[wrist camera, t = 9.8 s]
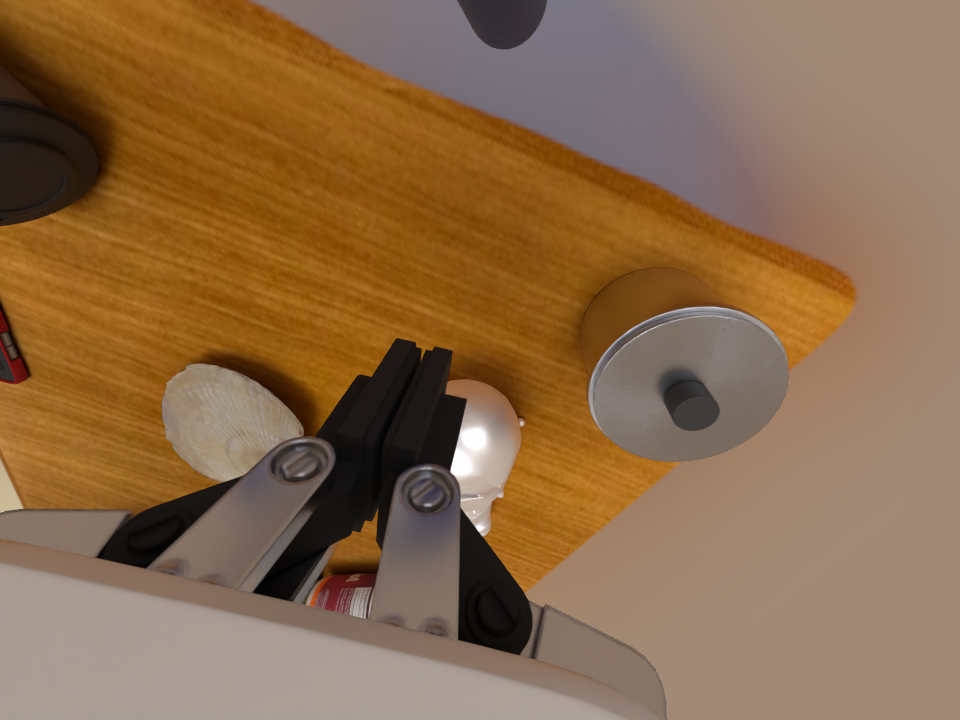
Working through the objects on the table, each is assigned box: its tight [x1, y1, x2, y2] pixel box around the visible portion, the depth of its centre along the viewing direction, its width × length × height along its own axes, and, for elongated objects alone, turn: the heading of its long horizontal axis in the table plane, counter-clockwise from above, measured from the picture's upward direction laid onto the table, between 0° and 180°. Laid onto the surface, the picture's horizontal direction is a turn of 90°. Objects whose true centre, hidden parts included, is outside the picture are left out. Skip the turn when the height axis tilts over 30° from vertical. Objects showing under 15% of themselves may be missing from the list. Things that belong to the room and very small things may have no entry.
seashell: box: [161, 363, 304, 482], centre depth 29 cm, size 12×12×3 cm
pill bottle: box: [306, 573, 377, 619], centre depth 37 cm, size 6×6×11 cm
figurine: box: [445, 379, 525, 537], centre depth 25 cm, size 11×7×15 cm
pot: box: [580, 268, 789, 462], centre depth 19 cm, size 8×8×8 cm
